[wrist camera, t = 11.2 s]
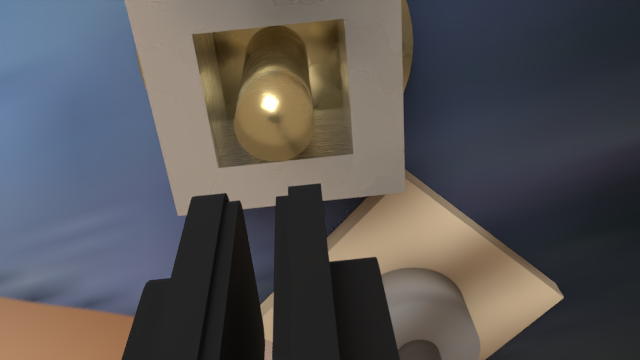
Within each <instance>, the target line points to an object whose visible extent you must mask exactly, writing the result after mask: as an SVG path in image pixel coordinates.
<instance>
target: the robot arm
mask: <svg viewBox="0 0 640 360" xmlns="http://www.w3.org/2000/svg"><path fill="white" fill-rule="evenodd" d="M264 351H265V335H264V325H263V319H262V313H261V308H260V302H259V297H258V291H257V286H256V280H255V275H254V269H253V264H252V258H251V253H250V247H249V242H248V236H247V231H246V225H245V220H244V214H243V209H242V204H241V202H240V200H238V201H229V198H228V195H227V194H226V193H221V194H212V195H202V196H193V197H192V198H191V201H190V205H189V209H188V213H187V216H186V220H185V224H184V228H183V232H182V236H181V240H180V244H179V248H178V252H177V256H176V260H175V263H174V267H173V271H172V275H171V278H168V279H158V280H150V281H148V282H147V283H146V285H145V287H144V289H143V292H142V295H141V299H140V302H139V305H138V308H137V311H136V315H135V318H134V321H133V324H132V328H131V331H130V334H129V337H128V341H127V344H126V347H125V351H124V353H123V357H122V360H264ZM272 353H273V354H272V360H400V357H399V353H398V348H397V344H396V339H395V335H394V330H393V326H392V321H391V317H390V312H389V308H388V303H387V299H386V294H385V290H384V285H383V281H382V276H381V272H380V267H379V263H378V260H377V258H376V257H369V258H360V259H350V260H340V261H331V262H329V254H328V245H327V236H326V227H325V217H324V208H323V199H322V190H321V183H318V184H308V185H298V186H289V187H288V195H286V196H277V197H276V208H275V255H274V302H273V351H272Z"/></svg>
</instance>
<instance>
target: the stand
mask: <svg viewBox="0 0 640 360" xmlns="http://www.w3.org/2000/svg"><path fill="white" fill-rule="evenodd" d="M327 245H328V254H329V262H331V261H340V260H350V259H360V258H369V257H376V258H377V260H378V263H379V267H380V272H381V276H382V281H383V285H384V290H385V294H386V299H387V303H388V308H389V312H390V317H391V321H392V326H393V330H394V335H395V339H396V344H397V348H398V353H399V357H400V360H485V359H487V358H488V357H489V356H490V355H492V354H493V353H494V352H495V351H497V350H498V349H499V348H501V347H502V346H503V345H504V344H506V343H507V342H508V341H509V340H511V339H512V338H513V337H515V336H516V335H517V334H518V333H520V332H521V331H522V330H523V329H525V328H526V327H527V326H529V325H530V324H531V323H532V322H534V321H535V320H536V319H537V318H539V317H540V316H541V315H543V314H544V313H545V312H546V311H548V310H549V309H550V308H551V307H553V306H554V305H555V304H557V303H558V302H559V301H560V300H562V299H563V298H564V297H563V295H562V293H561V292H560V290H559V288H558V287H557V285H556V284H555V283H554V282H553V281H552V280H550V279H549V278H548V277H546V276H545V275H544V274H543V273H541V272H540V271H539V270H537V269H536V268H535V267H533V266H532V265H531V264H529V263H528V262H527V261H525V260H524V259H523V258H521V257H520V256H519V255H517V254H516V253H515V252H514V251H512V250H511V249H510V248H508V247H507V246H506V245H504V244H503V243H502V242H500V241H499V240H498V239H496V238H495V237H494V236H492V235H491V234H490V233H488V232H487V231H486V230H485V229H483V228H482V227H481V226H479V225H478V224H477V223H475V222H474V221H473V220H471V219H470V218H469V217H467V216H466V215H465V214H463V213H462V212H461V211H459V210H458V209H457V208H456V207H454V206H453V205H452V204H450V203H449V202H448V201H446V200H445V199H444V198H442V197H441V196H440V195H438V194H437V193H436V192H434V191H433V190H432V189H430V188H429V187H428V186H427V185H425V184H424V183H423V182H421V181H420V180H419V179H417V178H416V177H415V176H413V175H412V174H411V173H409V172H408V171H407V170H405V192H404V193H394V194H384V195H375V196H368V197H367V198H366V199H365V200H364V201H363V202H362V203H361V204H360V205H359V206H358V207H357V208H356V209H355V210H354V211H353V212H352V213H351V214H350V215H349V216H348V217H347V218H346V219H345V220H344V221H343V222H342V223H341V224H340V225H339V226H338V227H337V228H336V229H335V230H334V231H333V232H332V233H331V234H330V235H329V236H328V237H327ZM273 302H274V292H273V293H272V294H271V295H270V296H269V297H268V298H267V299H266V300H265V301H264V302H263V303H262V304H261V305H260V308H261V313H262V319H263V325H264V335H265V339H266V340H268V341H269V342H271V343H273Z"/></svg>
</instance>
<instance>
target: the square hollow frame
mask: <svg viewBox="0 0 640 360" xmlns="http://www.w3.org/2000/svg"><path fill="white" fill-rule="evenodd" d="M125 4H126V8H127V12H128V16H129V20H130V24H131V28H132V32H133V36H134V40H135V44H136V48H137V52H138V56H139V60H140V64H141V68H142V72H143V76H144V80H145V84H146V89H147V93H148V97H149V101H150V105H151V109H152V113H153V117H154V121H155V125H156V129H157V133H158V137H159V141H160V145H161V149H162V153H163V157H164V161H165V165H166V169H167V174H168V178H169V182H170V186H171V190H172V194H173V198H174V202H175V206H176V210H177V214H178V216H182V215H187V213H188V209H189V205H190V201H191V198H192V197H193V196H202V195H212V194H221V193H226V194H227V195H228V198H229V201H238V200H240V202H241V204H242V209H250V208H259V207H269V206H276V197H277V196H286V195H288V187H289V186H298V185H308V184H318V183H321V190H322V199H323V201H327V200H336V199H346V198H356V197H365V196H375V195H384V194H394V193H404V192H405V159H404V112H403V66H402V20H401V0H125ZM335 19H337V31H338V44H339V57H340V71H341V84H342V97H343V108H335V109H326V110H316V111H313V112H314V121H315V128H314V134H313V137H312V139H311V141H310V143H309V145H308V146H307V147H306V148H305V149H304V150H303V151H302V152H301V153H300V154H298V155H297V156H295V157H293V158H290V159H287V160H283V161H266V160H262V159H259V158H257V157H255V156H253V155H251V154H250V153H249V152H247V151H246V150H245V149H244V148H243V147H242V146H241V144H240V143H239V141H238V139H237V137H236V134H235V130H234V119H229V120H228V118H227V113H226V107H225V102H224V96H223V90H222V85H221V79H220V74H219V68H218V63H217V57H216V52H215V46H214V41H213V35H212V32H219V31H229V30H239V29H248V28H258V27H268V26H277V25H287V24H297V23H306V22H316V21H326V20H335Z"/></svg>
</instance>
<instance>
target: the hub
mask: <svg viewBox="0 0 640 360" xmlns="http://www.w3.org/2000/svg"><path fill="white" fill-rule="evenodd" d="M401 20H402V66H403V93H404V90H405V87H406V84H407V81H408V78H409V74H410V69H411V64H412V57H413V31H412V22H411V18H410V13H409V8H408V5H407V2H406V0H401ZM212 35H213V41H214V46H215V52H216V57H217V63H218V68H219V74H220V79H221V85H222V90H223V96H224V102H225V107H226V113H227V118H228V120H229V119H234V130H235V134H236V137H237V139H238V141H239V143H240V144H241V146H242V147H243V148H244V149H245V150H246V151H247V152H249V153H250V154H251V155H253V156H255V157H257V158H259V159H262V160H266V161H283V160H287V159H290V158H293V157H295V156H297V155H298V154H300V153H301V152H302V151H303V150H304V149H305V148H306V147H307V146H308V145H309V143H310V141H311V139H312V137H313V134H314V128H315V121H314V112H313V111H316V110H326V109H335V108H343V97H342V84H341V71H340V57H339V44H338V31H337V19H335V20H326V21H316V22H306V23H297V24H287V25H277V26H268V27H258V28H248V29H239V30H229V31H219V32H212ZM137 57H138V63H139V68H140V72H141V75H142V78H143V81H144V85H145V87H146V84H145V80H144V76H143V72H142V68H141V64H140V60H139V56H138V52H137ZM146 90H147V89H146Z"/></svg>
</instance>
